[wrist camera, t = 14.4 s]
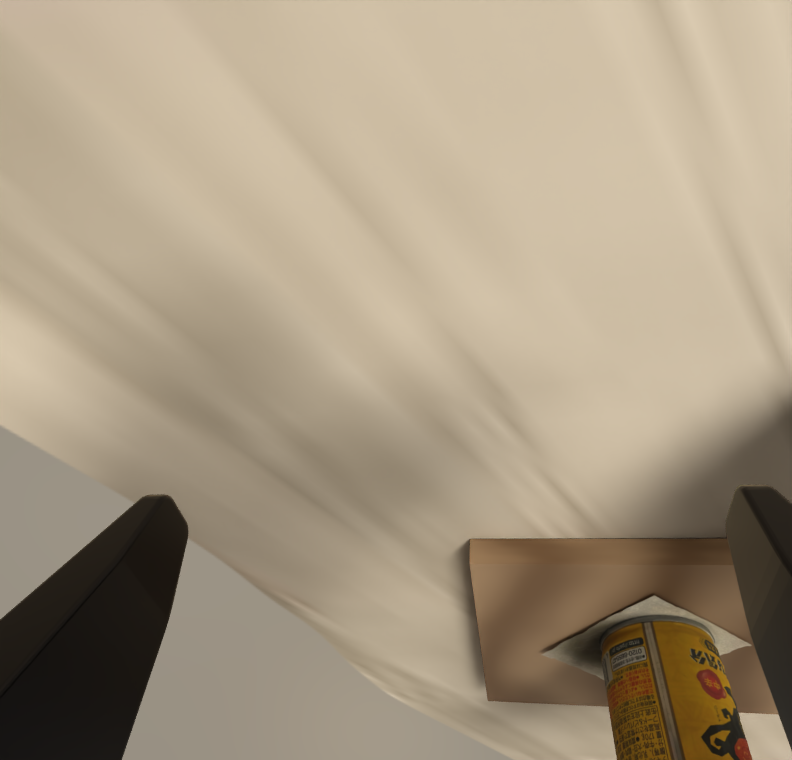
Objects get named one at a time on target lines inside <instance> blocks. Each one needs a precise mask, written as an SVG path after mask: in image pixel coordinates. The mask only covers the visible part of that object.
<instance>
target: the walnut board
mask: <svg viewBox="0 0 792 760" xmlns="http://www.w3.org/2000/svg"><path fill="white" fill-rule="evenodd" d="M470 571H471V578H472V586H473V593H474V601H475V608H476V616H477V623H478V631H479V638H480V646H481V653H482V660H483V668H484V675H485V683H486V690H487V698H488V701H501V702H523V703H545V704H566V705H588V706H608V699H607V692H606V686H605V680H603V679H601V678H599V677H598V676H596V675H593V674H590V673H588V672H585V671H584V670H581V669H579V668H577V667H574V666H570V665H568V664H566V663H564V662H561V661H558V660H556V659H554V658H552V659H551V658H548V657H546V656H543V655H542V654H544V653H546V652H548V651H550V650H553V649H554V648H555V647H557V646H558V645H559V644H561V643H563V642H564V641H566V640H568V639H572V638H573V637H575V636H577V635H580V634H583V633H584V632H586V631H587V630H588V629H589V628H590V627H593V626H595V625H596V624H598V623H599V622H601V621H605V620H606V619H607V618H608V617H610V616H612V615H614V614H616V613H620V612H622V611H623V610H625V609H626V608H629V607H631V606H633V605H635V604H638V603H640V602H642V601H644V600H646V599H648V598H650V597H652V596H654V595H655V596H656V597H658V598H660V599H662V600H664V601H666V602H668V603H670V604H672V605H674V606H675V607H679V608H681V609H684V610H686V611H688V612H690V613H692V614H694V615H696V616H698V617H700V618H702V619H704V620H707V621H708V622H710V623H712V624H714V625H716V626H718V627H720V628H722V629H723V630H725V631H727V632H728V633H730V634H732V635H734V636H736V637H737V638H739V639H741V640H743V641H745V642H747V643H749V644H750V645H752V646H745V647H742V648H738V649H736V650H733V651H731V652H730V653H727V654H723V655H720V658H721V661H722V664H723V666H724V669H725V673H726V676H727V679H728V681H729V684H730V687H731V691H732V696H733V698H734V700H735V702H736V706H737V710H738V712H740V713H762V714H778V711H777V708H776V706H775V703H774V700H773V697H772V694H771V692H770V689H769V686H768V683H767V681H766V678H765V675H764V672H763V670H762V667H761V664H760V661H759V659H758V656H757V653H756V650H755V647H754V644H753V641H752V638H751V635H750V631H749V628H748V624H747V620H746V616H745V612H744V607H743V603H742V599H741V595H740V590H739V586H738V582H737V578H736V573H735V569H734V565H733V561H732V556H731V552H730V548H729V544H728V539H470Z"/></svg>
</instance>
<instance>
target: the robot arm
mask: <svg viewBox="0 0 792 760" xmlns="http://www.w3.org/2000/svg"><path fill="white" fill-rule="evenodd" d="M726 535H727V539H728V544H729V548H730V552H731V556H732V561H733V565H734V569H735V573H736V578H737V582H738V586H739V590H740V595H741V599H742V603H743V607H744V612H745V616H746V620H747V624H748V628H749V631H750V635H751V638H752V641H753V644H754V647H755V650H756V653H757V656H758V659H759V661H760V664H761V667H762V670H763V672H764V675H765V678H766V681H767V683H768V686H769V689H770V692H771V694H772V697H773V700H774V703H775V706H776V708H777V711H778V714H779V717H780V719H781V722H782V725H783V728H784V730H785V733H786V736H787V739H788V741H789V744H790V747H791V750H792V503H790V502H789V501H788V500H787V499H786V498H785V497H783V496H782V495H781V494H780V493H779V492H778V491H777V490H775V489H774V488H773V487H771V486H768V485H740V486H738V487H737V488H736V490H735V492H734V495H733V499H732V502H731V505H730V508H729V512H728V515H727V518H726ZM187 539H188V525H187V522H186V520H185V519H184V517H183V515H182V514H181V512H180V510H179V509H178V507H177V505H176V504H175V502H174V500H173V499H172V498H171V497H170V496H168V495H147V496H144V497H142V498H141V499H140V500H139V501H137V502H136V503H135V504H134V505H133V506H132V507H130V508H129V509H128V510H127V511H126V512H125V513H123V514H122V515H121V516H120V517H119V518H118V519H116V520H115V521H114V522H113V523H112V524H111V525H110V526H108V527H107V528H106V529H105V530H104V531H103V532H101V533H100V534H99V535H98V536H97V537H96V538H95V539H93V540H92V541H91V542H90V543H89V544H87V545H86V546H85V547H84V548H83V549H82V550H80V551H79V552H78V553H77V554H76V555H75V556H73V557H72V558H71V559H70V560H69V561H68V562H67V563H65V564H64V565H63V566H62V567H61V568H60V569H58V570H57V571H56V572H55V573H54V574H53V575H51V576H50V577H49V578H48V579H47V580H46V581H45V582H43V583H42V584H41V585H40V586H39V587H37V589H35V590H34V591H33V592H32V593H31V594H29V595H28V596H27V597H26V598H25V599H24V600H23V601H21V603H19V604H18V605H17V606H15V607H14V608H13V609H12V610H11V611H10V612H8V613H7V614H6V615H5V616H4V617H3V618H2V619H0V760H122V757H123V754H124V751H125V748H126V745H127V742H128V739H129V737H130V733H131V731H132V728H133V725H134V722H135V719H136V716H137V713H138V710H139V706H140V704H141V701H142V698H143V695H144V692H145V689H146V686H147V683H148V680H149V677H150V674H151V671H152V669H153V666H154V663H155V660H156V657H157V654H158V651H159V648H160V645H161V642H162V639H163V636H164V633H165V630H166V627H167V623H168V620H169V617H170V613H171V609H172V605H173V601H174V596H175V592H176V588H177V583H178V578H179V574H180V569H181V566H182V561H183V557H184V552H185V548H186V544H187Z"/></svg>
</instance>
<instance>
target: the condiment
mask: <svg viewBox="0 0 792 760" xmlns="http://www.w3.org/2000/svg"><path fill="white" fill-rule="evenodd" d="M745 646H752V645H750V644H749V643H747V642H745V641H743V640H741V639H739V638H737V637H736V636H734V635H732V634H730V633H728V632H727V631H725V630H723V629H722V628H720V627H718V626H716V625H714V624H712V623H710V622H708V621H707V620H704V619H702V618H700V617H698V616H696V615H694V614H692V613H690V612H688V611H686V610H684V609H681V608H679V607H675V606H674V605H672V604H670V603H668V602H666V601H664V600H662V599H660V598H658V597H656V596H655V595H654V596H652V597H650V598H648V599H646V600H644V601H642V602H640V603H638V604H635V605H633V606H631V607H629V608H626V609H625V610H623V611H622V612H620V613H616V614H614V615H612V616H610V617H608V618H607V619H606V620H605V621H601V622H599V623H598V624H596V625H595V626H593V627H590V628H589V629H588V630H587V631H586V632H584V633H583V634H580V635H577V636H575V637H573V638H572V639H568V640H566V641H564V642H563V643H561V644H559V645H558V646H557V647H555V648H554V649H553V650H550V651H548V652H546V653H544V654H542V655H543V656H546V657H548V658H551V659H552V658H554V659H556V660H558V661H561V662H564V663H566V664H568V665H570V666H574V667H577V668H579V669H581V670H584V671H585V672H588V673H590V674H593V675H596V676H598V677H599V678H601V679H603V680H605V686H606V692H607V699H608V706H609V712H610V718H611V725H612V731H613V737H614V743H615V749H616V755H617V760H752V757H751V754H750V751H749V747H748V744H747V740H746V738H745V734H744V732H743V728H742V725H741V722H740V717H739V714H738V710H737V706H736V702H735V700H734V698H733V696H732V691H731V687H730V684H729V681H728V679H727V676H726V673H725V669H724V666H723V664H722V661H721V658H720V655H723V654H727V653H730V652H731V651H733V650H736V649H738V648H742V647H745Z"/></svg>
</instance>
